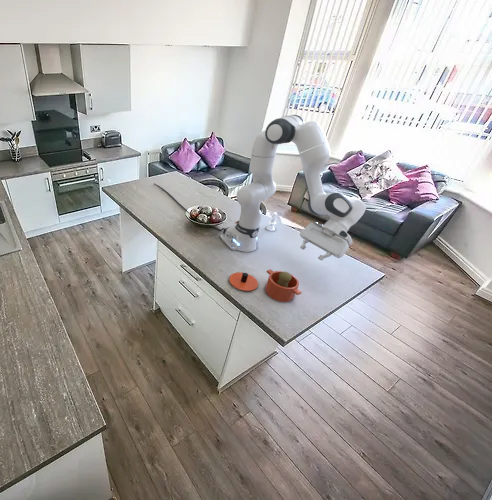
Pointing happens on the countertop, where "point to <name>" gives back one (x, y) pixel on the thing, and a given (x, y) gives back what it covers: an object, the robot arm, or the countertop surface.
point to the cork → (284, 279)
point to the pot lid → (243, 281)
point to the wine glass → (272, 222)
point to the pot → (279, 291)
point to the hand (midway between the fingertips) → (310, 253)
